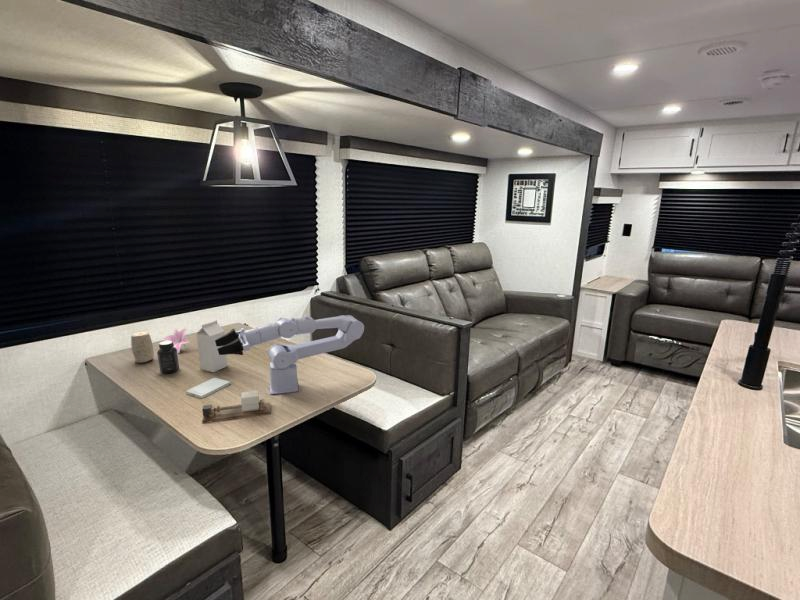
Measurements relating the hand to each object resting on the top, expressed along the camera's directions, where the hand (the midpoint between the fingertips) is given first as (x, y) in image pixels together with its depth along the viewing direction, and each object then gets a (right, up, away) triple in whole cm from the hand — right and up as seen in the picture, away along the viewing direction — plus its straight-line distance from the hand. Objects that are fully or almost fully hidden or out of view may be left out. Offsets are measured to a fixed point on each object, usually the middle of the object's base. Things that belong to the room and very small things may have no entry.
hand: (216, 347), depth 136 cm
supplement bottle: (-30, -12, +27) cm, 42 cm away
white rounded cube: (+12, -19, -2) cm, 23 cm away
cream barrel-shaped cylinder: (-46, -10, +36) cm, 59 cm away
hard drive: (-9, -17, +13) cm, 23 cm away
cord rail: (+8, -21, -3) cm, 22 cm away
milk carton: (-15, -12, +31) cm, 36 cm away
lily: (-38, -7, +48) cm, 62 cm away
